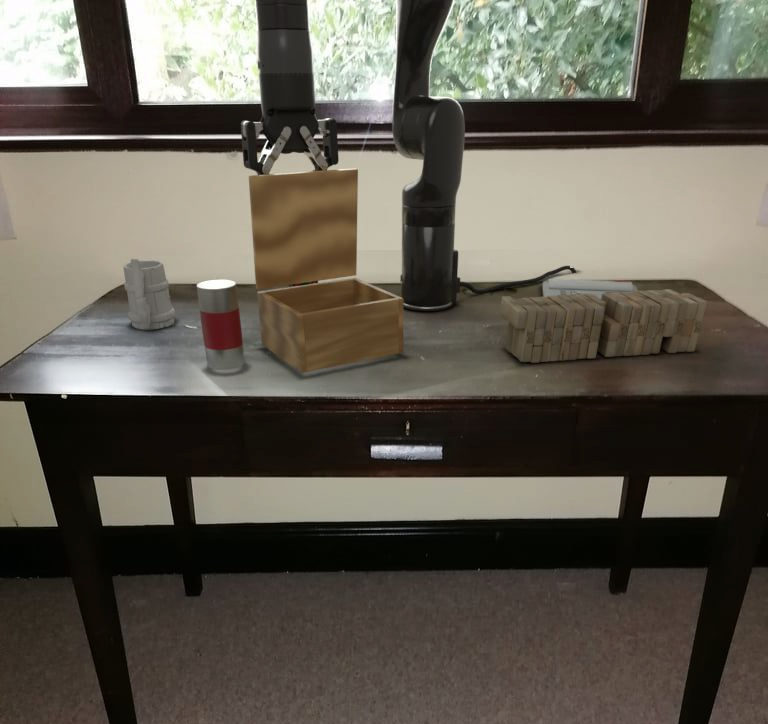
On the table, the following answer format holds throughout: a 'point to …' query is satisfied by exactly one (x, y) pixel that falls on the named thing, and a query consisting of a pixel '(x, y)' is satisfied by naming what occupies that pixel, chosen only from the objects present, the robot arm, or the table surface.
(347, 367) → the table surface
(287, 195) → the lid
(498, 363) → the table surface
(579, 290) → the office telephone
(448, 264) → the robot arm
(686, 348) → the block tower
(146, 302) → the mug
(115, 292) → the table surface
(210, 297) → the can
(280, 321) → the chest
